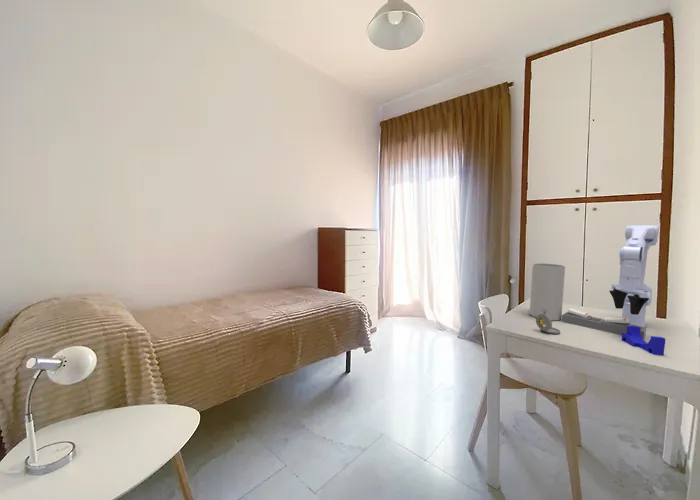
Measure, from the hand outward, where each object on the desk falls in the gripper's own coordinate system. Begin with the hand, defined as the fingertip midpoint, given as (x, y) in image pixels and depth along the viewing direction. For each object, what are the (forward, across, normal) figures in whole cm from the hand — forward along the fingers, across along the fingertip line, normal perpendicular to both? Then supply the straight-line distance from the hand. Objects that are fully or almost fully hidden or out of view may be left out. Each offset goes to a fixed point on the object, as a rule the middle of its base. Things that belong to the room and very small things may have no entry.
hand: (626, 311), depth 111 cm
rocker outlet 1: (+6, -14, -8) cm, 18 cm away
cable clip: (+10, +11, -2) cm, 15 cm away
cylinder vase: (+10, -21, -19) cm, 30 cm away
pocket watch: (+10, 0, -28) cm, 30 cm away
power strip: (+10, -9, -2) cm, 14 cm away
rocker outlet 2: (+6, -6, +1) cm, 9 cm away
